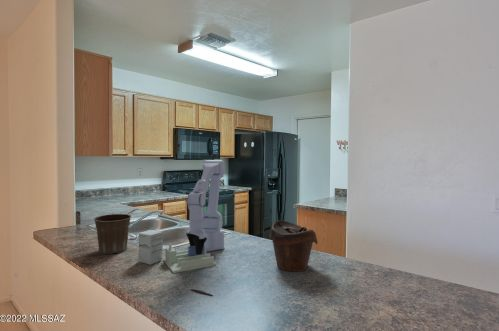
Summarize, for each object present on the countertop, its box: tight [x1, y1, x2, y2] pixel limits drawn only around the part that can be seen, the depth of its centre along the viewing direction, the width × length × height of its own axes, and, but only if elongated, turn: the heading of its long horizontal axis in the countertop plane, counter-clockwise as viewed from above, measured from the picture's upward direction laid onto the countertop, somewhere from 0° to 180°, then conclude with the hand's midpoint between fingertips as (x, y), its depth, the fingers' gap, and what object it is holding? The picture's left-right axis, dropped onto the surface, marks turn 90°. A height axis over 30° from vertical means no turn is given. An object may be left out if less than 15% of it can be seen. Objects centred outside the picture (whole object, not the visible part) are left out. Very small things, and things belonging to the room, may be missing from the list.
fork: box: [173, 281, 214, 297], centre depth 98 cm, size 3×16×2 cm, turn 62°
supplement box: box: [137, 229, 164, 265], centre depth 125 cm, size 7×7×13 cm
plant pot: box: [93, 213, 132, 255], centre depth 139 cm, size 16×16×16 cm
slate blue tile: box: [187, 245, 205, 257], centre depth 125 cm, size 7×2×6 cm, turn 120°
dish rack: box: [162, 243, 217, 274], centre depth 124 cm, size 18×16×8 cm
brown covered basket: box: [269, 220, 318, 272], centre depth 121 cm, size 18×20×18 cm
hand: (195, 251), depth 125 cm, fingers open, 7 cm apart
